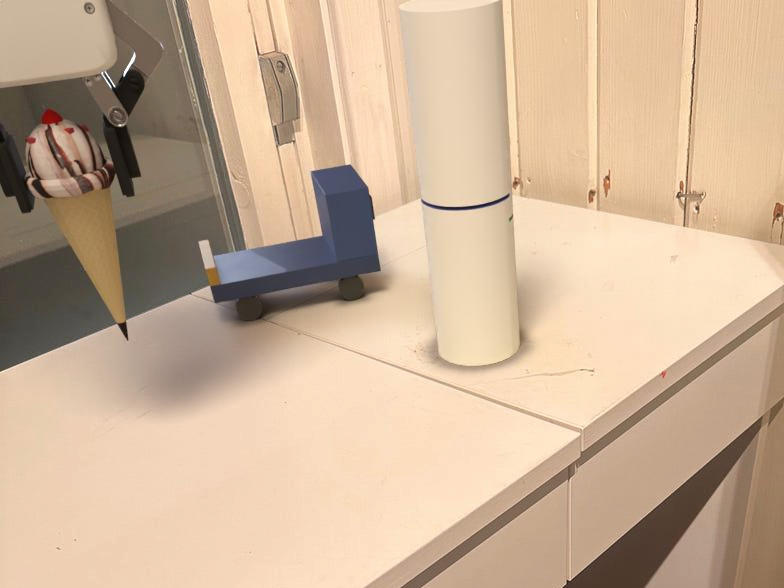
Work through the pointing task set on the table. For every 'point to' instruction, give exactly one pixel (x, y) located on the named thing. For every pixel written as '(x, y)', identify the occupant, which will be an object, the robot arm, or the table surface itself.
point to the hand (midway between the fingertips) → (78, 195)
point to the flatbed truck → (305, 249)
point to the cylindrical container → (464, 173)
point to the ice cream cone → (79, 200)
